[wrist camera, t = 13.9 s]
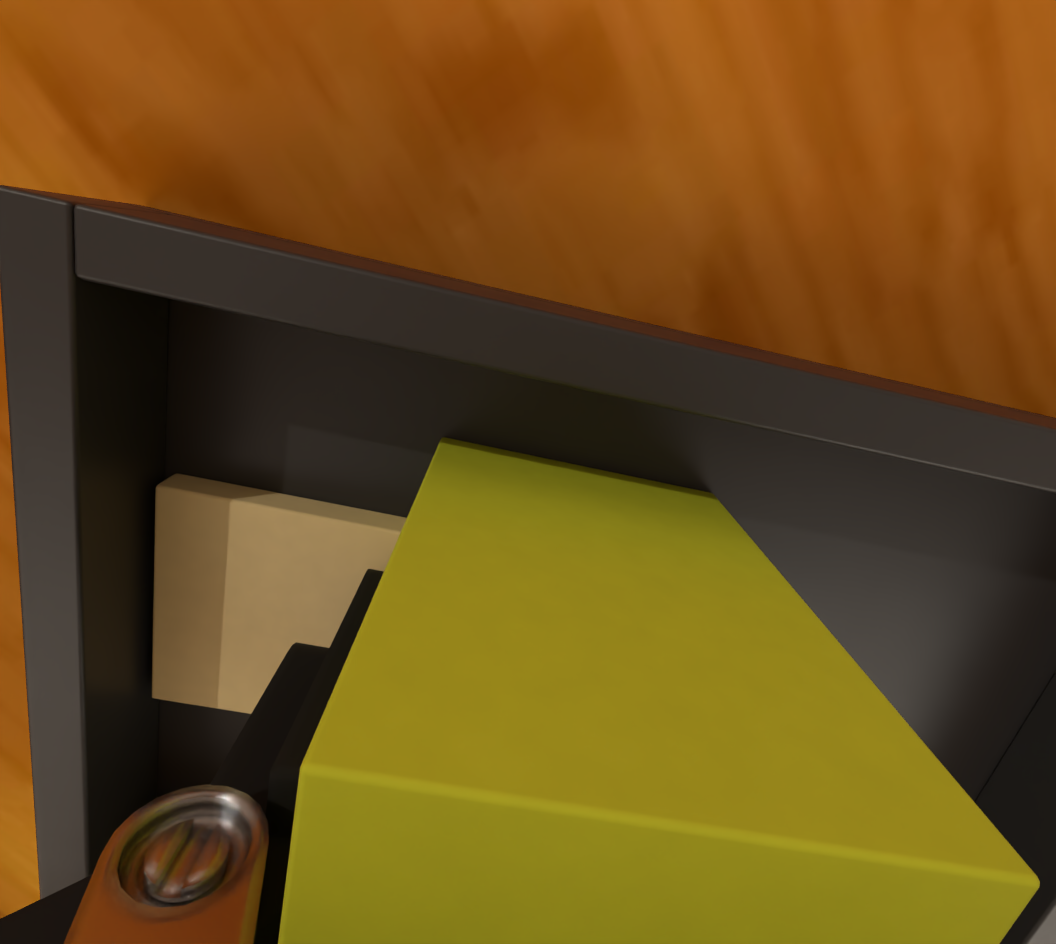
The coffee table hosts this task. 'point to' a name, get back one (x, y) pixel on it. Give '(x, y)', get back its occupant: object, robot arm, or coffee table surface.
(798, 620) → the yellow-green rectangular block
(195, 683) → the beige flat square block
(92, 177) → the coffee table surface
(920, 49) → the coffee table surface
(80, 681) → the pan
